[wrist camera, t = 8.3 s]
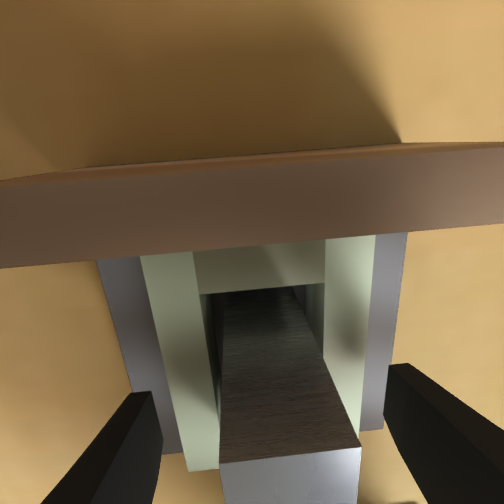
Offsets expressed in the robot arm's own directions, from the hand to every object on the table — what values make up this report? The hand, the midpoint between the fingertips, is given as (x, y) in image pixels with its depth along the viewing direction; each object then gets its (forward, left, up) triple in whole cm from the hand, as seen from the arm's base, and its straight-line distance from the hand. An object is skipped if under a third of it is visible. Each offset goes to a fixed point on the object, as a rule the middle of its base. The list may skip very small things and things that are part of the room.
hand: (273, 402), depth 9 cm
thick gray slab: (0, 0, -4) cm, 4 cm away
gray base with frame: (0, 0, -5) cm, 5 cm away
